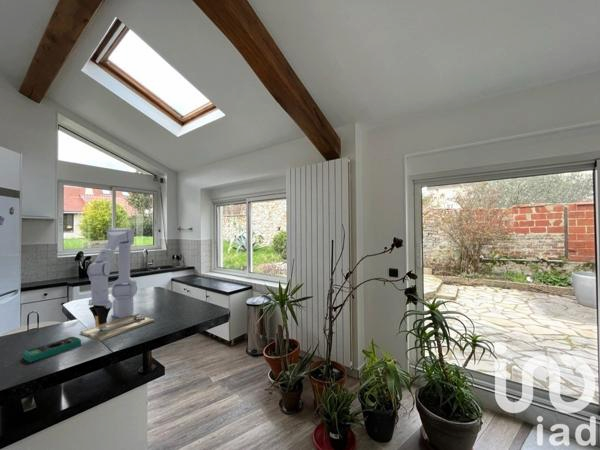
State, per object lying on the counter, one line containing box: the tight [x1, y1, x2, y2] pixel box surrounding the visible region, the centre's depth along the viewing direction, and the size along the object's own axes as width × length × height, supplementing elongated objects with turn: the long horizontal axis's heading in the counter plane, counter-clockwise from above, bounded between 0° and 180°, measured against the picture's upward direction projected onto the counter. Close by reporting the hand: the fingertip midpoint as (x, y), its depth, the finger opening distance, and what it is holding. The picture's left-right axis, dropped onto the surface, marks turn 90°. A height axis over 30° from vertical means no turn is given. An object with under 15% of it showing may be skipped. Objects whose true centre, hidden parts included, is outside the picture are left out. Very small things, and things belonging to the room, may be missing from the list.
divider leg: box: [94, 315, 109, 331], centre depth 111 cm, size 6×3×7 cm, turn 62°
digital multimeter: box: [22, 336, 82, 363], centre depth 96 cm, size 7×15×3 cm, turn 149°
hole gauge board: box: [79, 312, 155, 342], centre depth 118 cm, size 16×22×4 cm
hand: (101, 322), depth 111 cm, fingers closed on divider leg, 2 cm apart
